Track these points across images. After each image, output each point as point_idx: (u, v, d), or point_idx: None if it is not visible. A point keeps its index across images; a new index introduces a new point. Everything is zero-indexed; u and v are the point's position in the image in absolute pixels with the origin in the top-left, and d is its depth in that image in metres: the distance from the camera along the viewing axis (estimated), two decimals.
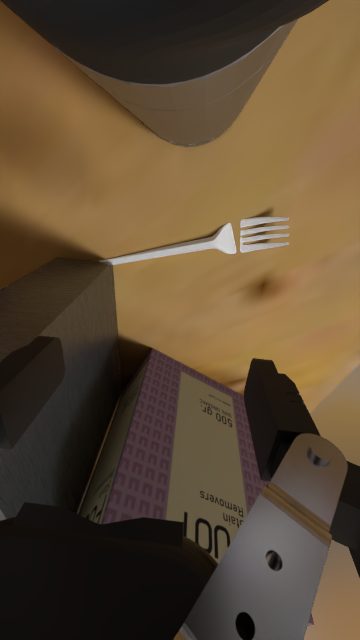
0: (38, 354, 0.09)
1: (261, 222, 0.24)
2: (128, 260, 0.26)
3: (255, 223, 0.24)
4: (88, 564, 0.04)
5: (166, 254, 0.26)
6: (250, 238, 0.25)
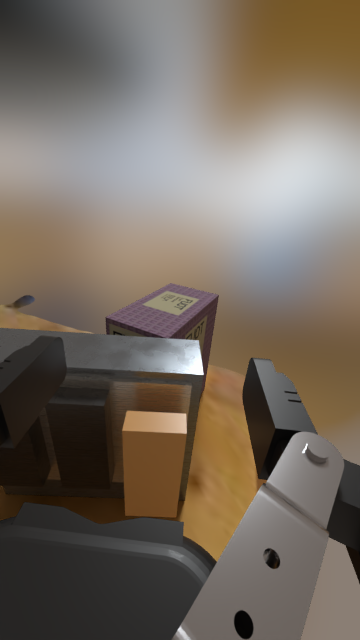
0: (40, 353, 0.09)
1: None
2: None
3: None
4: (88, 564, 0.04)
5: None
6: None
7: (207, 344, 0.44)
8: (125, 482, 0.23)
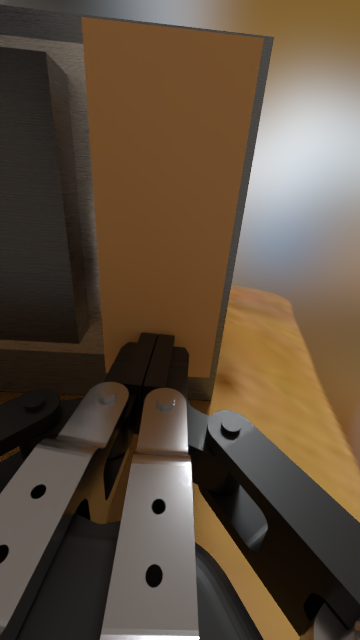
0: (152, 349, 0.10)
1: None
2: None
3: None
4: (88, 564, 0.04)
5: None
6: None
7: None
8: (100, 261, 0.10)
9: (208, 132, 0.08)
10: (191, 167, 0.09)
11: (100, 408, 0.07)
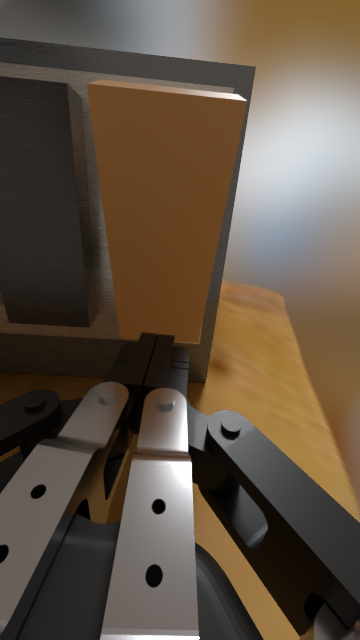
0: (152, 348, 0.10)
1: None
2: None
3: None
4: (88, 564, 0.04)
5: None
6: None
7: None
8: (112, 266, 0.13)
9: (198, 175, 0.10)
10: (183, 201, 0.10)
11: (100, 408, 0.07)
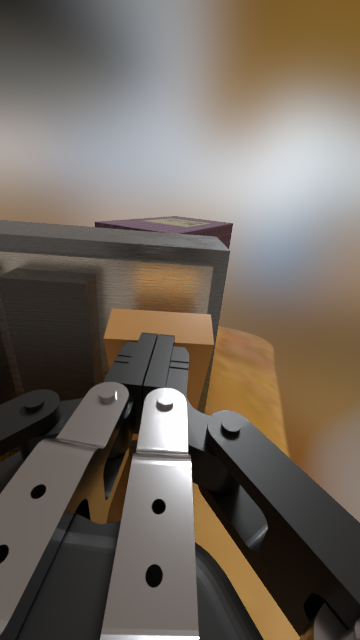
0: (152, 349, 0.10)
1: None
2: None
3: None
4: (88, 564, 0.04)
5: None
6: None
7: None
8: None
9: None
10: None
11: (100, 408, 0.07)
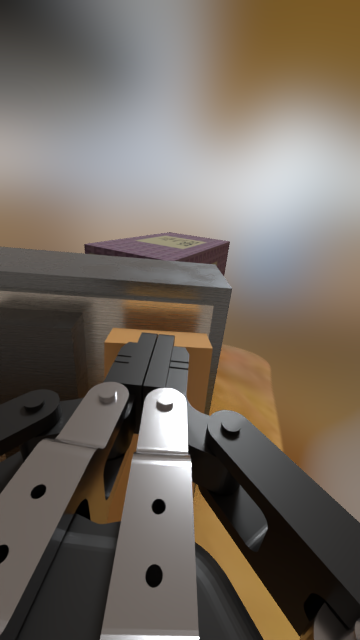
0: (152, 349, 0.10)
1: None
2: None
3: None
4: (88, 564, 0.04)
5: None
6: None
7: None
8: None
9: None
10: None
11: (100, 408, 0.07)
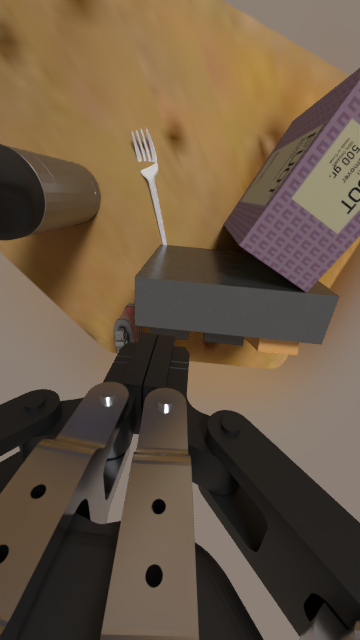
0: (152, 349, 0.10)
1: (137, 148, 0.40)
2: (163, 236, 0.45)
3: (138, 152, 0.40)
4: (88, 564, 0.04)
5: (158, 211, 0.43)
6: (147, 154, 0.40)
7: None
8: (247, 340, 0.40)
9: None
10: None
11: (100, 408, 0.07)
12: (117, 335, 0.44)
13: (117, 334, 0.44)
